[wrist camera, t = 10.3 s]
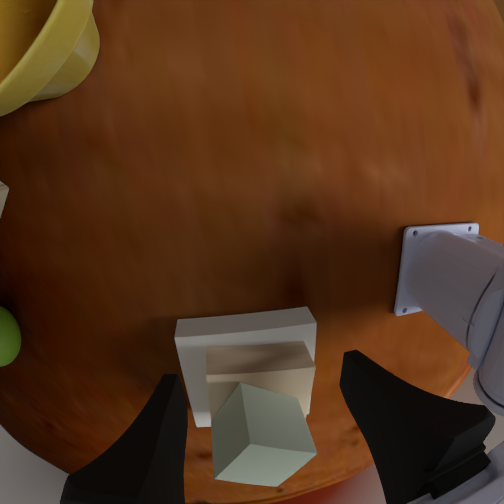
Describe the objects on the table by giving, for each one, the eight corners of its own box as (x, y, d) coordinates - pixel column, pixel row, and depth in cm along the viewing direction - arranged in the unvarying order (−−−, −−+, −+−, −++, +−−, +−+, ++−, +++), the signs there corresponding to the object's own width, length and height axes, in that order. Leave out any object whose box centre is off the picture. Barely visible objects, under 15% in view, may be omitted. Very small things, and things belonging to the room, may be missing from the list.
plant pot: (149, 67, 16) (102, 5, 7) (34, 152, 17) (-58, 162, 8) (100, -22, 13) (54, -88, 4) (-1, 57, 13) (-77, 35, 4)
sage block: (297, 398, 19) (317, 453, 14) (264, 434, 20) (276, 486, 15) (240, 382, 18) (250, 443, 13) (210, 421, 19) (214, 478, 14)
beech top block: (304, 341, 21) (315, 366, 18) (294, 405, 23) (303, 430, 21) (206, 347, 20) (206, 374, 18) (212, 411, 23) (213, 438, 20)
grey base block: (305, 303, 24) (316, 322, 21) (301, 392, 27) (308, 413, 24) (178, 316, 23) (174, 337, 20) (197, 404, 26) (196, 427, 23)
